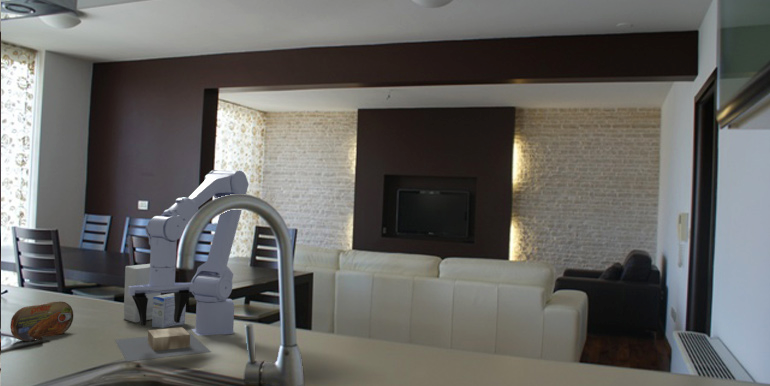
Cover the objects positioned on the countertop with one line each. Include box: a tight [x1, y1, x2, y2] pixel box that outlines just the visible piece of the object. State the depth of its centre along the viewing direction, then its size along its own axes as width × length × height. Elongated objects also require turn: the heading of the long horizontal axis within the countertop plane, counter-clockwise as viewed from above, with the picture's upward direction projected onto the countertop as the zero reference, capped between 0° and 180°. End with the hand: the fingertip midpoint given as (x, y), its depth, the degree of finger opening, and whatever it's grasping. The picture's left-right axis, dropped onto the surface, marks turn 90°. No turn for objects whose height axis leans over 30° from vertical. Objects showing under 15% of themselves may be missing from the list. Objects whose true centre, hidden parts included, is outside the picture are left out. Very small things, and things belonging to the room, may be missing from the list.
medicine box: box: [151, 292, 187, 329], centre depth 155 cm, size 8×4×9 cm, turn 154°
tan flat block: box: [147, 327, 190, 351], centre depth 134 cm, size 3×8×8 cm
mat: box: [114, 332, 212, 362], centre depth 133 cm, size 18×20×1 cm
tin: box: [10, 301, 74, 342], centre depth 139 cm, size 15×3×8 cm, turn 157°
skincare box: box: [123, 263, 162, 323], centre depth 163 cm, size 8×7×16 cm
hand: (160, 323), depth 133 cm, fingers open, 7 cm apart
